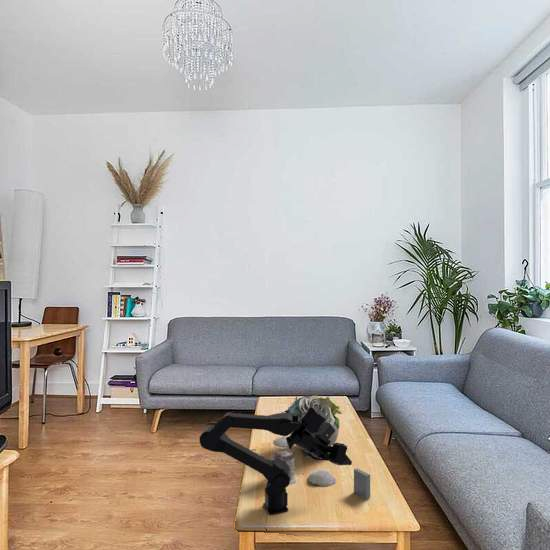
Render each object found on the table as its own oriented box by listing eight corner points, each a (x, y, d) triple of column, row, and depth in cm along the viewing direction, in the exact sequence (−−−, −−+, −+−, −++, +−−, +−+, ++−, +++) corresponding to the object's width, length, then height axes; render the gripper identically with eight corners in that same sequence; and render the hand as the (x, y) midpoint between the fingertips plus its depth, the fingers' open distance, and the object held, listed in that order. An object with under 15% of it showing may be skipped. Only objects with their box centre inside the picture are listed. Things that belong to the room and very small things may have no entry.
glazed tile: (366, 499, 142) (366, 475, 142) (353, 492, 147) (353, 469, 147) (370, 498, 143) (370, 474, 143) (358, 490, 148) (358, 467, 148)
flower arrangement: (309, 468, 166) (309, 406, 166) (274, 447, 186) (274, 392, 187) (355, 454, 179) (355, 397, 180) (318, 436, 200) (318, 385, 201)
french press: (295, 473, 162) (296, 407, 162) (297, 487, 150) (297, 417, 150) (270, 473, 162) (270, 407, 162) (270, 487, 150) (270, 417, 150)
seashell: (301, 473, 155) (316, 459, 163) (303, 487, 156) (318, 472, 163) (324, 481, 148) (339, 466, 156) (326, 495, 149) (341, 479, 156)
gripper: (334, 419, 133) (368, 441, 138) (301, 416, 148) (332, 435, 153) (322, 454, 128) (358, 475, 133) (289, 447, 143) (322, 466, 148)
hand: (342, 461), depth 142 cm, fingers open, 9 cm apart
